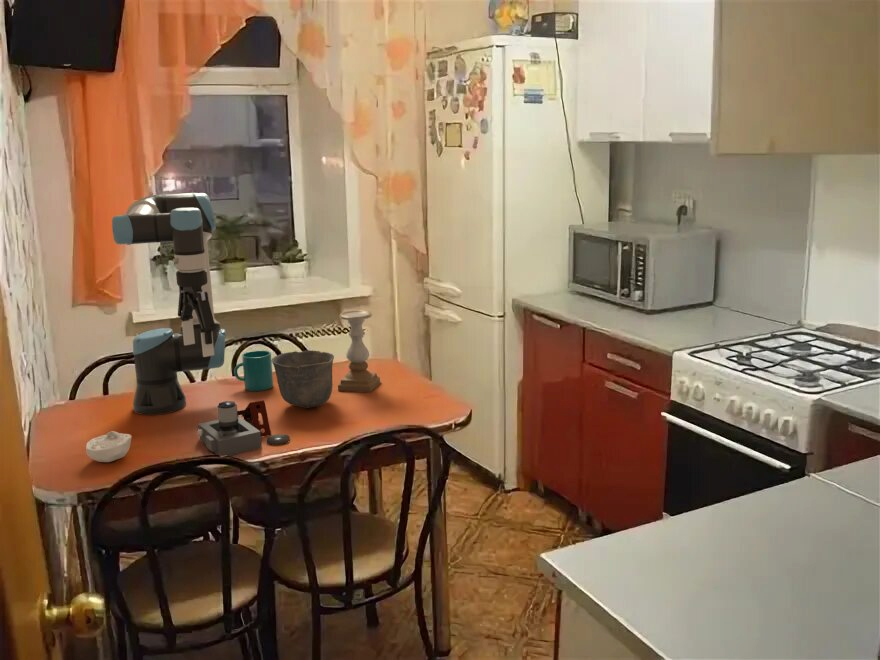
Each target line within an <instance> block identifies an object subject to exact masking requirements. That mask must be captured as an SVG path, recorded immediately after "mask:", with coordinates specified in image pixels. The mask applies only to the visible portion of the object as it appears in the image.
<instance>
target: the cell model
mask: <svg viewBox="0 0 880 660" xmlns="http://www.w3.org/2000/svg"><path fill="white" fill-rule="evenodd" d="M131 441H132V434H129V433H122V432H121V433H119V432H117V431H113V430H112V431H109V432H107V434H102V435H99V436H97V437H94V438H93V437H92V439H90V440H89V441H87V443H86V444H85V445H86V446H85V450H86V455H87V456H88V458H90V459H92V460H94V461H96V462H100V463H111V462H114V461H116V460H119V459H121V458H124V457H125V456H126V455H127V453H128V452H129V449H130V447H131Z"/></svg>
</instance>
